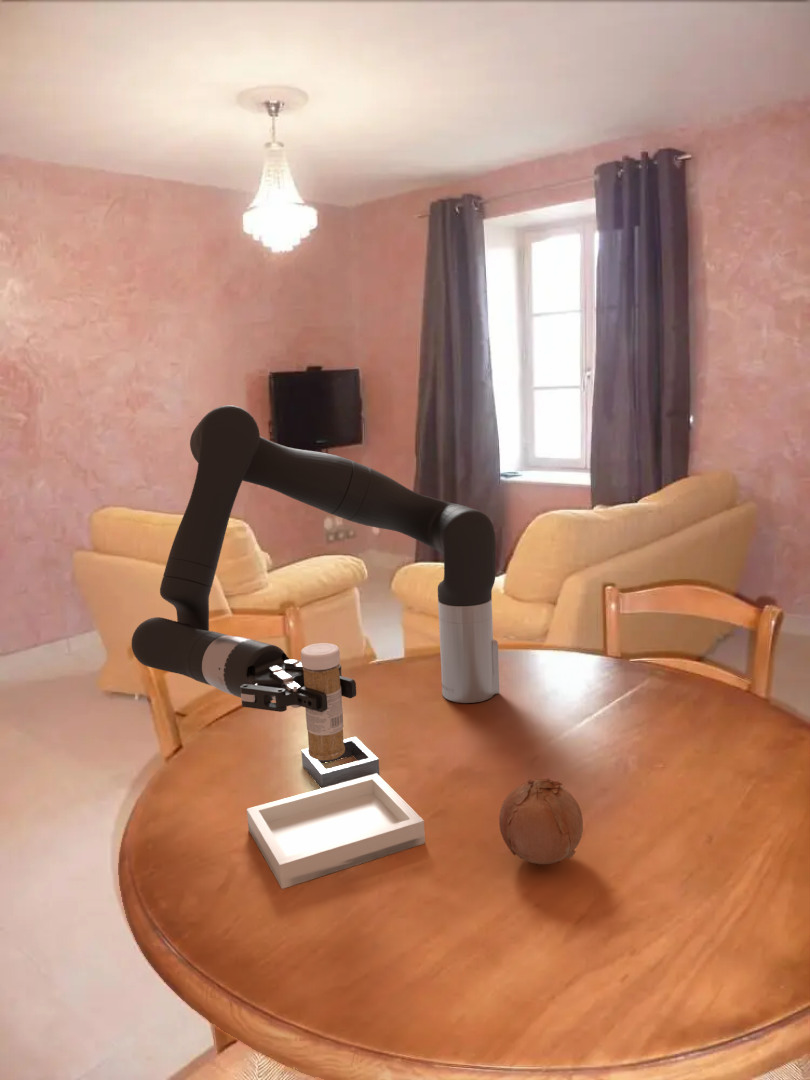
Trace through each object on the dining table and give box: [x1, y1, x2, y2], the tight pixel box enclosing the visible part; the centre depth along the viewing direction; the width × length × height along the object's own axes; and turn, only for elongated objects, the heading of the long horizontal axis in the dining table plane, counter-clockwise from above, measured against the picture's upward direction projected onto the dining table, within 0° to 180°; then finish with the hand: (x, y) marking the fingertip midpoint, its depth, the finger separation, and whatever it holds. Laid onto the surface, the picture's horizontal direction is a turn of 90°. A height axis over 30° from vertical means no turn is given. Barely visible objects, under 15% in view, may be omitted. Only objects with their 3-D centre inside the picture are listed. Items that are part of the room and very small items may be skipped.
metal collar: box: [300, 736, 380, 789], centre depth 119 cm, size 9×9×2 cm
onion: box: [498, 778, 584, 866], centre depth 94 cm, size 10×9×10 cm
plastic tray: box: [246, 773, 426, 890], centre depth 102 cm, size 18×14×3 cm
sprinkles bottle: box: [300, 642, 345, 760], centre depth 99 cm, size 5×5×13 cm
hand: (339, 696), depth 97 cm, fingers closed on sprinkles bottle, 4 cm apart
